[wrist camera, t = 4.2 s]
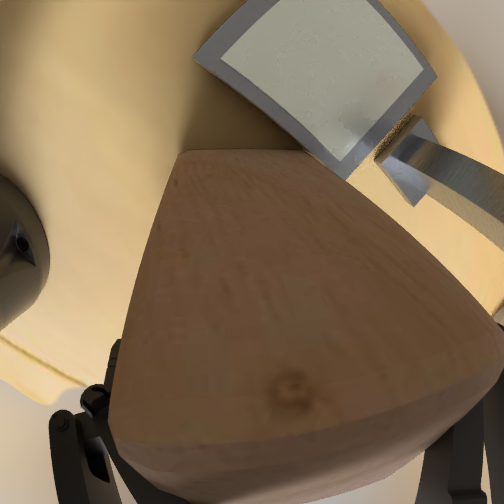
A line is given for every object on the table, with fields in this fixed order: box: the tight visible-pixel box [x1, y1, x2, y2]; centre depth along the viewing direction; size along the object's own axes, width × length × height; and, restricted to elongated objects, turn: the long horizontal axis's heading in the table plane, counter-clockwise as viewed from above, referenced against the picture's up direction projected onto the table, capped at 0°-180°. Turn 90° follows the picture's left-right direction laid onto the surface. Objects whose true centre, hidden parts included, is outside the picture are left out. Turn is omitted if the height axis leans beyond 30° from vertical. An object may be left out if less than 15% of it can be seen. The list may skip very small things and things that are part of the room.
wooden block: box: [108, 149, 504, 504], centre depth 15 cm, size 10×10×20 cm
